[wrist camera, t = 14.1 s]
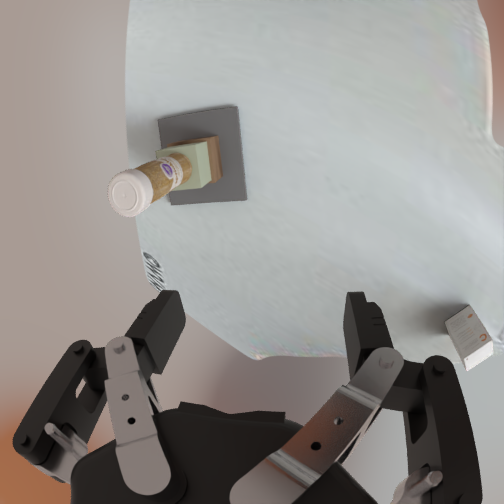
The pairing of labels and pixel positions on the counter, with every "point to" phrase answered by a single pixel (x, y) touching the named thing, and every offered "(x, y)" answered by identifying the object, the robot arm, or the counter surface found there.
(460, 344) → the small box
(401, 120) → the counter surface
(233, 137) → the slate board
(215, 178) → the walnut base block
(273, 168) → the counter surface
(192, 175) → the sage top block
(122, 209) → the sprinkles bottle
